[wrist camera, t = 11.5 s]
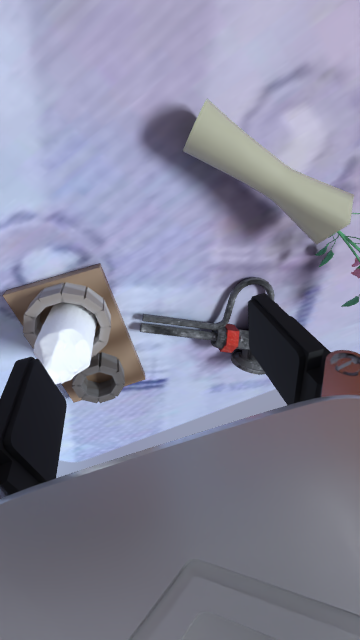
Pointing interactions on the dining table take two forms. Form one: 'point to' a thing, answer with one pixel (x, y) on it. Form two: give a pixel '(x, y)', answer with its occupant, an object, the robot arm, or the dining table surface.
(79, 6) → the dining table surface
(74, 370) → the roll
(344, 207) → the flower vase
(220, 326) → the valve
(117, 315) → the fitting board
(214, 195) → the dining table surface
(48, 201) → the dining table surface
